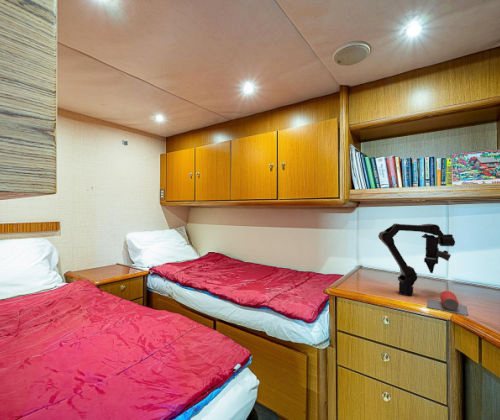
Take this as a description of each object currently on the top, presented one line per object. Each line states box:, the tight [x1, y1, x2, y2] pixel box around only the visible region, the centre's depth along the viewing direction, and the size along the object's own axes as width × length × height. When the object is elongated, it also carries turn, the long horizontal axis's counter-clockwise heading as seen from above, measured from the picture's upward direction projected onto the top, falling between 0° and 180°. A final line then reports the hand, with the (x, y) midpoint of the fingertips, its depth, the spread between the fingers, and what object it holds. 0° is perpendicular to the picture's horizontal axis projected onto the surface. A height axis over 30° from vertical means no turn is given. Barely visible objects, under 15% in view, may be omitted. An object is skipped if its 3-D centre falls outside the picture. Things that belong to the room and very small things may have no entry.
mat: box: [426, 298, 469, 317], centre depth 129 cm, size 16×14×1 cm
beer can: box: [439, 290, 459, 310], centre depth 128 cm, size 7×7×12 cm
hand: (431, 272), depth 145 cm, fingers closed
